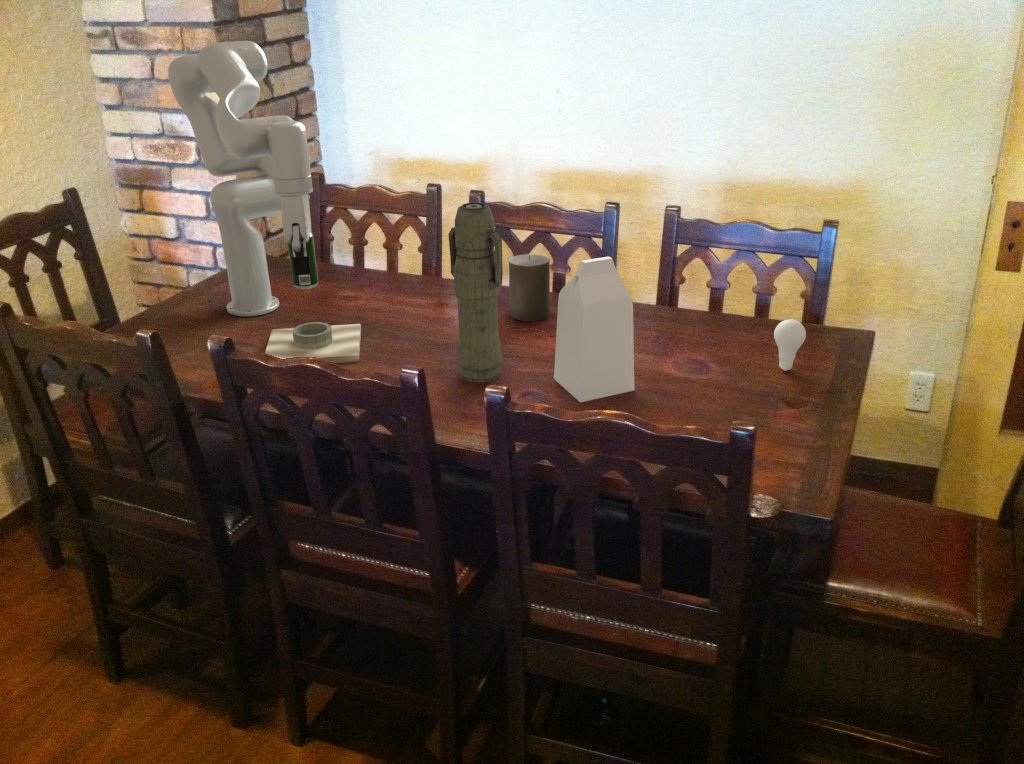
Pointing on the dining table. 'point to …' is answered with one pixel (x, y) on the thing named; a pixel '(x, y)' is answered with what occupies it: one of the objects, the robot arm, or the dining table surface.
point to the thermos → (477, 290)
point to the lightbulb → (788, 341)
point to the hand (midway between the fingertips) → (304, 269)
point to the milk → (595, 333)
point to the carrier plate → (327, 353)
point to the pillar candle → (529, 287)
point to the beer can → (311, 279)
